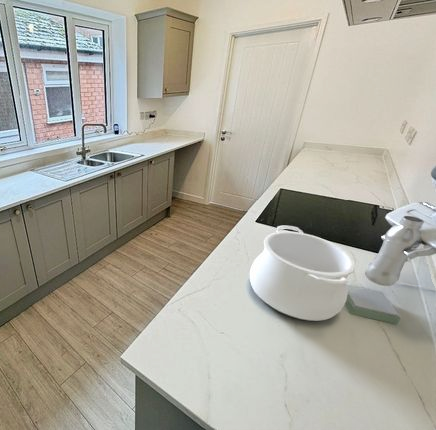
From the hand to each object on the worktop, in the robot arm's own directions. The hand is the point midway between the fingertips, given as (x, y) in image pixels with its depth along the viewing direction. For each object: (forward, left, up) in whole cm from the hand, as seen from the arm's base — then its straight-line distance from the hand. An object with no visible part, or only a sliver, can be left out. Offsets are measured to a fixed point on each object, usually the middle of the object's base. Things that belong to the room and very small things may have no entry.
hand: (394, 247), depth 69 cm
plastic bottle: (-1, 0, -12) cm, 12 cm away
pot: (+19, +3, -21) cm, 29 cm away
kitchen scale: (-1, 0, -21) cm, 21 cm away
